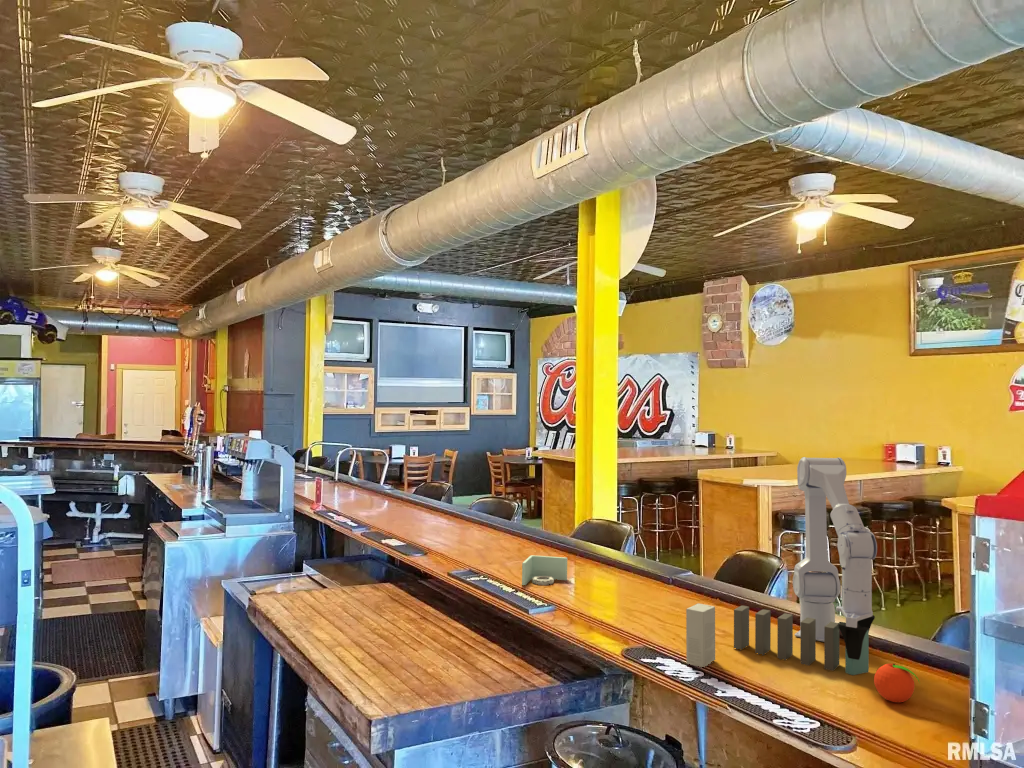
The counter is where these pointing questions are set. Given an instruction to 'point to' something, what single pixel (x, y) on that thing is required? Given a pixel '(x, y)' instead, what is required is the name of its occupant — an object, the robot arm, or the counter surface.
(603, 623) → the counter surface
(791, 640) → the domino
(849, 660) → the domino
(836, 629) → the domino
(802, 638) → the domino
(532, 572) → the l-shaped corner panel
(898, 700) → the clementine
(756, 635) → the domino
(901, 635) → the counter surface
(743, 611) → the domino
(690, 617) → the skincare box
